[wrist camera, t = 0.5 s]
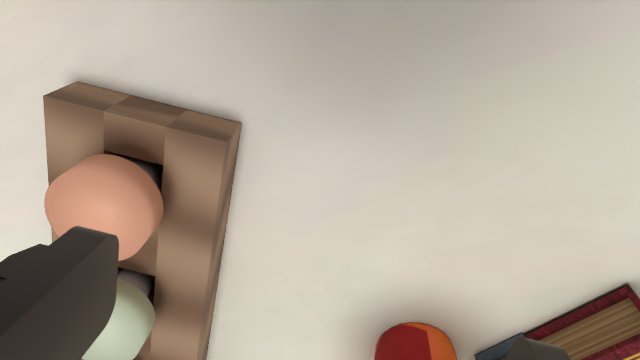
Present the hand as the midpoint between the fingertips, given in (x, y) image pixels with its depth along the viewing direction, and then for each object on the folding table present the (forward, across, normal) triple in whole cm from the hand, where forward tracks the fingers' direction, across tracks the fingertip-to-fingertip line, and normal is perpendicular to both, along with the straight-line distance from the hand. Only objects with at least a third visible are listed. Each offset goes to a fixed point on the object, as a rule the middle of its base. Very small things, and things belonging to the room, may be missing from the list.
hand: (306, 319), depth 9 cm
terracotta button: (+17, +11, +6) cm, 21 cm away
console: (+19, +11, +14) cm, 26 cm away
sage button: (+17, +11, +14) cm, 25 cm away
